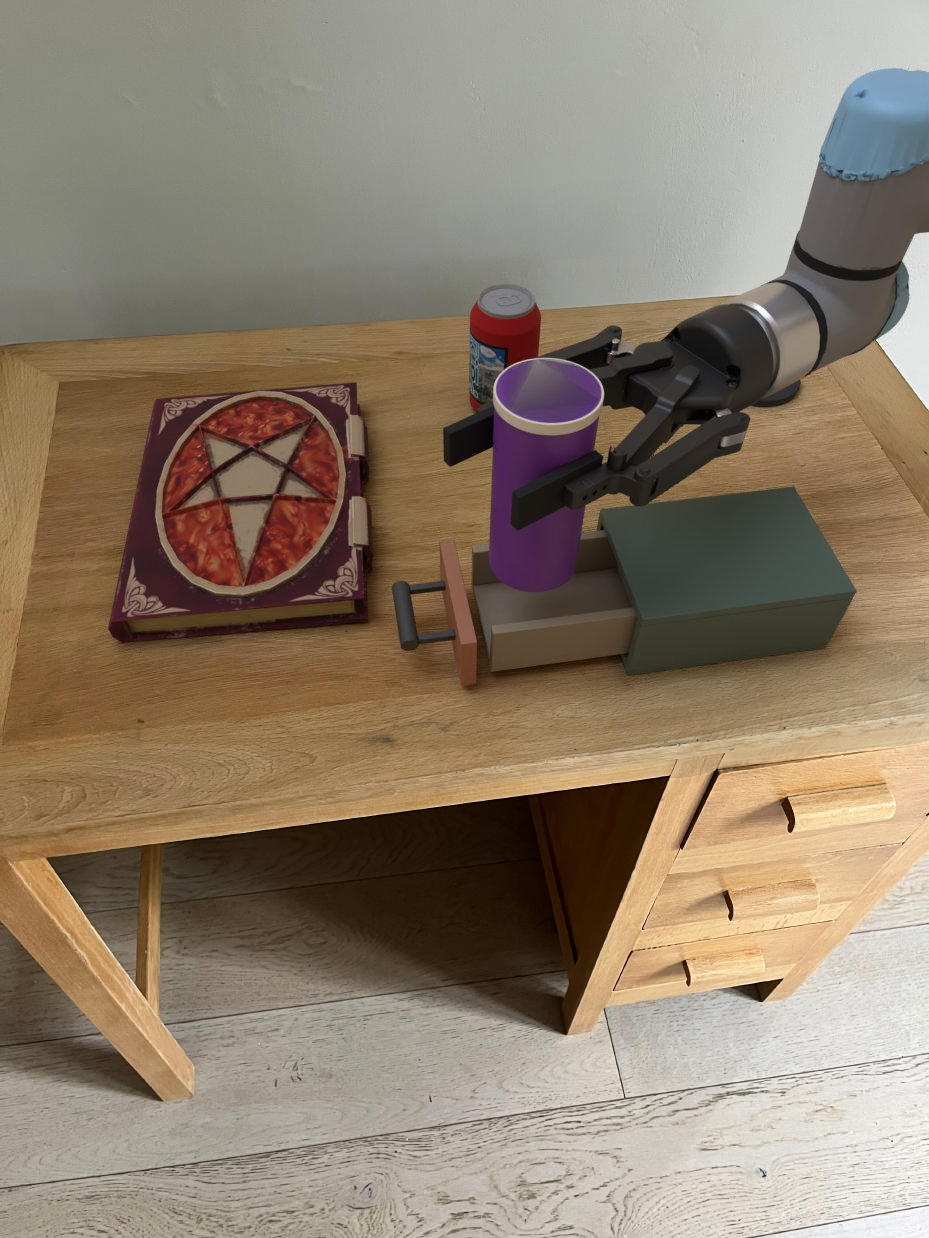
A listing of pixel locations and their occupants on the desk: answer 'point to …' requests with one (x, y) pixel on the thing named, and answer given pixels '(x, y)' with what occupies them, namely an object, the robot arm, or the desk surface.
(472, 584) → the drawer
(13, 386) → the desk surface
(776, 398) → the coaster
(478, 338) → the beverage can
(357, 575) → the book
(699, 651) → the cabinet
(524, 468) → the tube
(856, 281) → the robot arm
